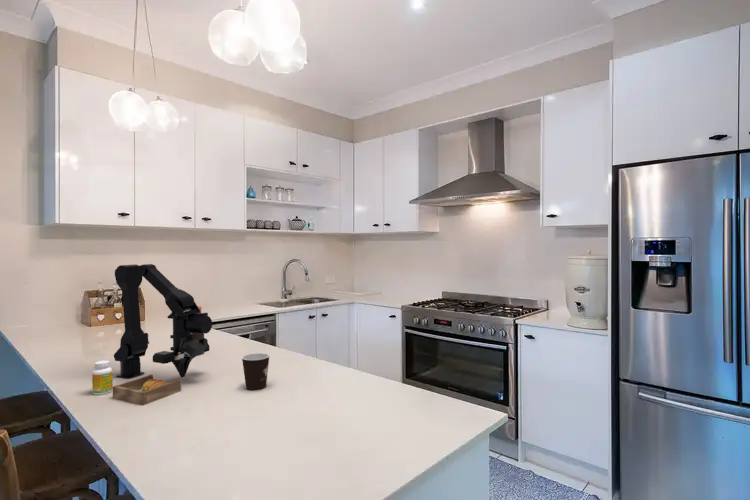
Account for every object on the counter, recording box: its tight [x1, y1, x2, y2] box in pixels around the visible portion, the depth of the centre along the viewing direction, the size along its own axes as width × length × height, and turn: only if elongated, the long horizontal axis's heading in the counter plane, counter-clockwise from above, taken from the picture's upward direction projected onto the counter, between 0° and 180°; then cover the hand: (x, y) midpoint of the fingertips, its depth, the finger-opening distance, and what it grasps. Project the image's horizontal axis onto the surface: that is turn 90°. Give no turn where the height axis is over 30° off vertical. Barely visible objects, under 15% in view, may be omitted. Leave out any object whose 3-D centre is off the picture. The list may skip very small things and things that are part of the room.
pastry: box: [140, 378, 167, 392], centre depth 133 cm, size 9×7×4 cm
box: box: [112, 374, 182, 406], centre depth 132 cm, size 14×13×4 cm
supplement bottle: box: [91, 360, 114, 396], centre depth 134 cm, size 5×5×10 cm
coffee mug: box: [241, 352, 270, 391], centre depth 139 cm, size 12×9×10 cm
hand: (182, 377), depth 144 cm, fingers closed
